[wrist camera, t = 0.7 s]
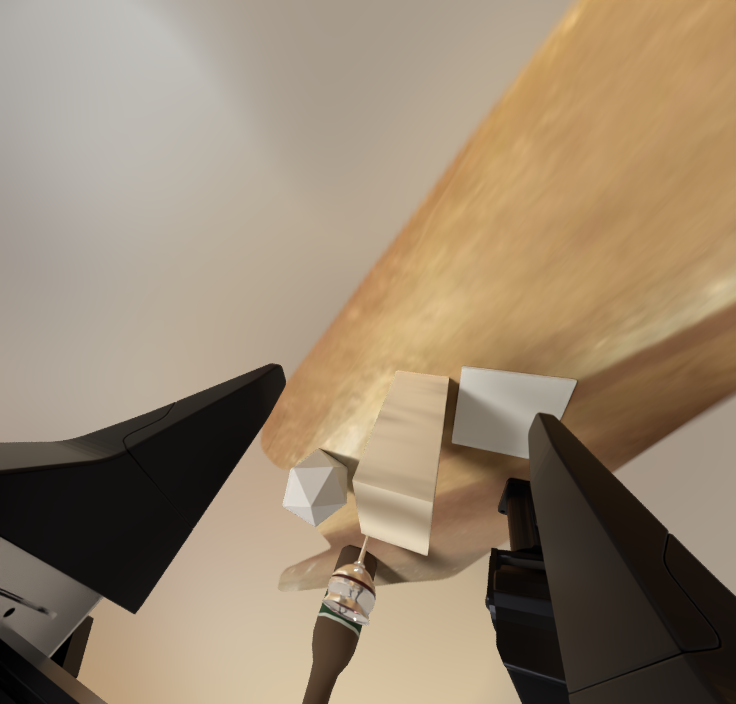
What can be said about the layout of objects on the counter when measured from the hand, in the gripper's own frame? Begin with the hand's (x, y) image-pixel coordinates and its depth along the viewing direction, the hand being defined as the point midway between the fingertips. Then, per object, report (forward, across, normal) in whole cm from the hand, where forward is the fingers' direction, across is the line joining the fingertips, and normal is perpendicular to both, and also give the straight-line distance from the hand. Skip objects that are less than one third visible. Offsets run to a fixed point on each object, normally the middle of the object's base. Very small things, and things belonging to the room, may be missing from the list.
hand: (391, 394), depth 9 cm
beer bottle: (+14, +10, +58) cm, 61 cm away
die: (+14, +13, +28) cm, 34 cm away
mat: (+14, -8, +13) cm, 20 cm away
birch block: (+14, 0, +13) cm, 19 cm away
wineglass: (+14, +6, +41) cm, 44 cm away
